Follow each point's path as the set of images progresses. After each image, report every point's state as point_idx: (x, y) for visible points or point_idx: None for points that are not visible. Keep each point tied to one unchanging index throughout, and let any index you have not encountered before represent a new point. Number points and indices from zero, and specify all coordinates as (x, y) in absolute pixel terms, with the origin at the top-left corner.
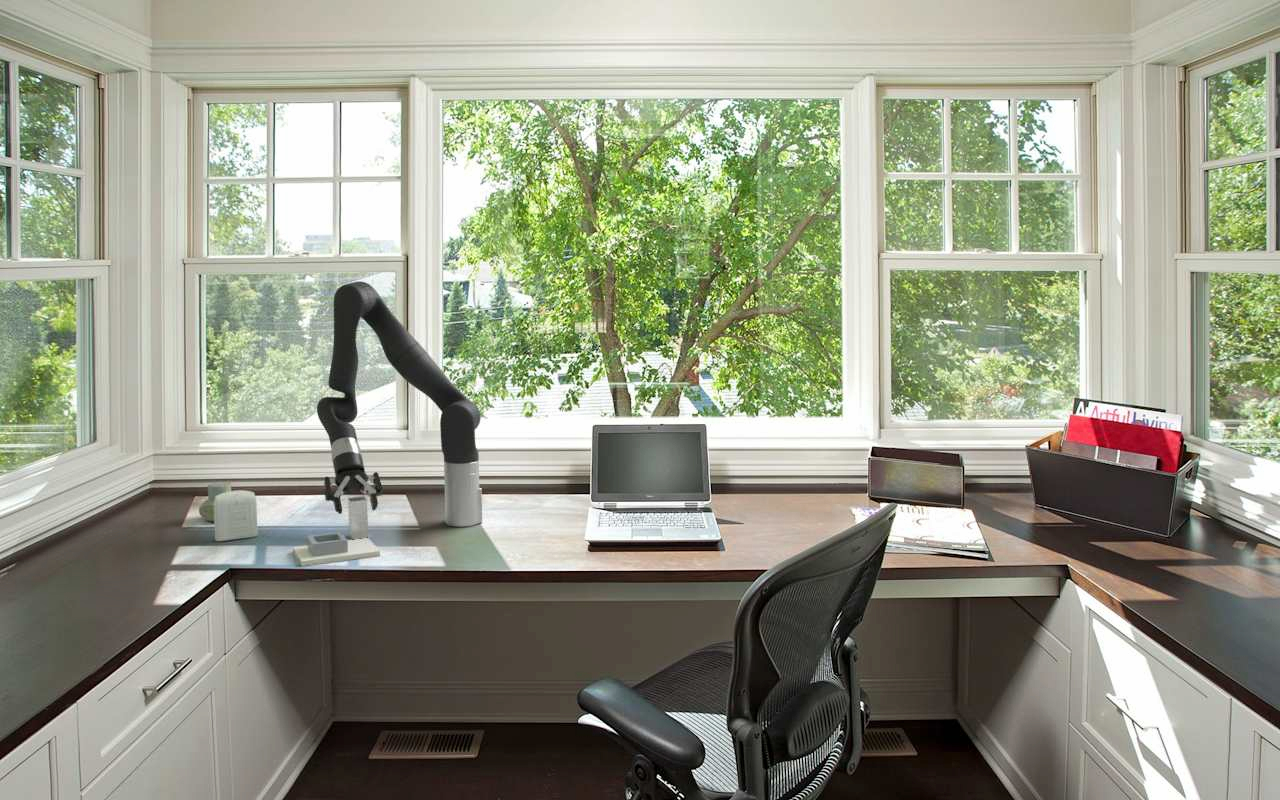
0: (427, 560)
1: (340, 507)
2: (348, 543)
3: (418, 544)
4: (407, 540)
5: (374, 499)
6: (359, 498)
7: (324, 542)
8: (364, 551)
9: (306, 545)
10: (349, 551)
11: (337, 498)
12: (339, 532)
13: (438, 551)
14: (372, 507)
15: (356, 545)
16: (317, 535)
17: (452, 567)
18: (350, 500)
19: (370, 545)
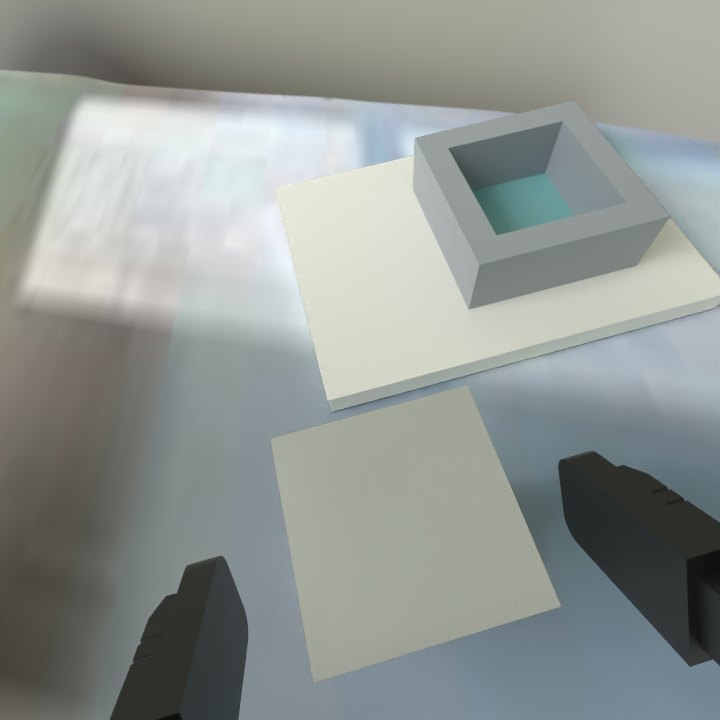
0: (116, 146)
1: (589, 464)
2: (430, 310)
3: (83, 334)
4: (115, 414)
5: (167, 632)
6: (371, 537)
7: (523, 117)
8: (339, 189)
9: (664, 309)
10: (406, 196)
11: (714, 541)
12: (486, 256)
13: (40, 229)
14: (236, 615)
15: (383, 273)
16: (608, 219)
17: (65, 89)
18: (483, 434)
19: (313, 263)
